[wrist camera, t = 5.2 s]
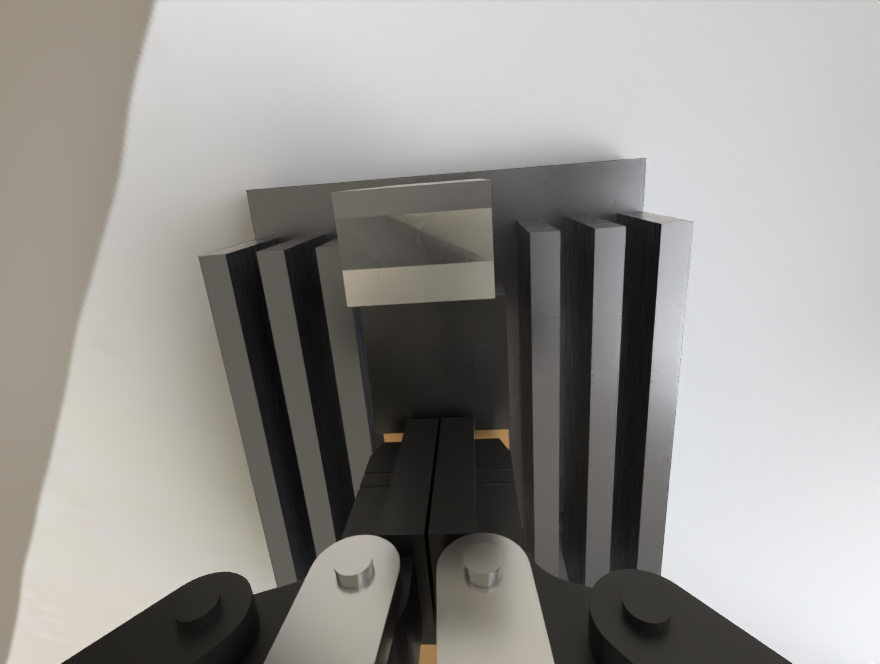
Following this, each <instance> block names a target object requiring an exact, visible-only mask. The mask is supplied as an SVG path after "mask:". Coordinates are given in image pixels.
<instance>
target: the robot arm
mask: <svg viewBox="0 0 880 664" xmlns="http://www.w3.org/2000/svg"><path fill="white" fill-rule="evenodd" d="M436 642H437V664H792V663H791V662H789V661H788V660H786V659H785V658H784V657H782V656H781V655H779V654H778V653H776V652H775V651H773V650H772V649H770V648H769V647H767V646H766V645H764V644H763V643H761V642H760V641H758V640H757V639H756V638H754V637H753V636H751V635H750V634H748V633H747V632H745V631H744V630H742V629H741V628H739V627H738V626H736V625H735V624H733V623H732V622H731V621H729V620H728V619H726V618H725V617H723V616H722V615H720V614H719V613H717V612H716V611H714V610H713V609H711V608H710V607H708V606H707V605H706V604H704V603H703V602H701V601H700V600H698V599H697V598H695V597H694V596H692V595H691V594H689V593H688V592H686V591H685V590H683V589H682V588H681V587H679V586H678V585H676V584H674V583H673V582H671V581H670V580H668V579H666V578H664V577H662V576H659V575H657V574H654V573H651V572H648V571H643V570H637V569H621V570H616V571H613V572H610V573H608V574H606V575H604V576H603V577H601V578H600V579H599V580H598V581H597V582H596V583H595V585H594V586H593V588H591V587H587V586H583V585H580V584H576V583H572V582H569V581H566V580H563V579H560V578H558V577H555V576H553V575H551V574H550V573H548V572H546V571H545V570H543V569H542V568H541V567H540V566H538V565H537V564H536V563H535V562H534V561H533V559H532V558H531V557H530V555H529V554H528V552H527V550H526V548H525V546H524V541H523V536H522V528H521V521H520V514H519V507H518V500H517V493H516V486H515V479H514V472H513V465H512V458H511V451H510V450H509V449H508V448H507V447H506V446H505V445H504V443H503V442H502V441H501V440H500V439H499V438H488V439H476V438H475V423H474V416H473V417H448V418H442V419H441V421H440V418H425V419H407V422H406V425H405V429H404V433H403V437H402V441H401V442H384V443H383V444H382V445H381V446H380V447H379V448H378V449H377V450H376V451H375V452H374V453H373V454H372V455H371V456H370V458H369V461H368V464H367V467H366V470H365V476H363V478H362V481H361V484H360V490H358V493H357V495H356V498H355V501H354V504H353V507H352V510H351V513H350V515H349V518H348V521H347V524H346V527H345V530H344V533H343V535H342V538H341V540H340V541H338V542H336V543H334V544H332V545H331V546H329V547H328V548H327V549H325V550H324V551H323V552H322V553H321V554H320V555H319V556H318V557H317V559H316V560H315V561H314V563H313V564H312V566H311V568H310V570H309V572H308V574H307V576H306V578H304V579H302V580H300V581H297V582H294V583H292V584H288V585H285V586H282V587H278V588H275V589H271V590H268V591H264V592H261V593H257V594H254V595H253V593H252V589H251V586H250V584H249V582H248V581H247V579H245V578H244V577H243V576H241V575H239V574H237V573H232V572H217V573H212V574H208V575H205V576H202V577H199V578H197V579H194V580H192V581H190V582H188V583H186V584H185V585H183V586H181V587H180V588H178V589H177V590H175V591H173V592H172V593H170V594H169V595H167V596H166V597H164V598H163V599H161V600H159V601H158V602H156V603H155V604H153V605H152V606H150V607H149V608H147V609H145V610H144V611H142V612H141V613H139V614H138V615H136V616H135V617H133V618H131V619H130V620H128V621H127V622H125V623H124V624H122V625H121V626H119V627H117V628H116V629H114V630H113V631H111V632H110V633H108V634H107V635H105V636H103V637H102V638H100V639H99V640H97V641H96V642H94V643H92V644H91V645H89V646H88V647H86V648H85V649H83V650H82V651H80V652H78V653H77V654H75V655H74V656H72V657H71V658H69V659H68V660H66V661H64V662H63V663H61V664H419V658H420V649H421V645H436Z"/></svg>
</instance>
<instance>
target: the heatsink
mask: <svg viewBox="0 0 880 664" xmlns="http://www.w3.org/2000/svg"><path fill="white" fill-rule="evenodd" d="M645 169H646V158H639V159H626V160H614V161H601V162H589V163H577V164H564V165H552V166H539V167H527V168H514V169H502V170H490V171H477V172H465V173H452V174H440V175H428V176H415V177H403V178H390V179H378V180H366V181H353V182H341V183H328V184H316V185H304V186H291V187H279V188H266V189H254V190H246V192H247V197H248V202H249V207H250V212H251V217H252V222H253V228H254V233H255V238H256V240H252V241H249V242H245V243H242V244H238V245H235V246H231V247H228V248H225V249H221V250H218V251H214V252H211V253H207V254H204V255H201V256H198V257H199V261H200V265H201V269H202V273H203V278H204V282H205V286H206V290H207V294H208V299H209V303H210V307H211V311H212V315H213V320H214V324H215V328H216V332H217V336H218V340H219V345H220V349H221V353H222V357H223V361H224V366H225V370H226V374H227V378H228V382H229V387H230V391H231V395H232V399H233V403H234V408H235V412H236V416H237V420H238V424H239V429H240V433H241V437H242V441H243V445H244V450H245V454H246V458H247V462H248V466H249V471H250V475H251V479H252V483H253V487H254V492H255V496H256V500H257V504H258V508H259V513H260V517H261V521H262V525H263V529H264V534H265V538H266V542H267V546H268V550H269V555H270V559H271V563H272V567H273V571H274V576H275V580H276V584H277V588H278V587H282V586H285V585H288V584H292V583H294V582H297V581H300V580H302V579H304V578H306V576H307V574H308V572H309V570H310V568H311V566H312V564H313V563H314V561H315V560H316V559H317V557H318V556H319V555H320V554H321V553H322V552H323V551H324V550H325V549H327V548H328V547H329V546H331V545H332V544H334V543H336V542H338V541H340V540H341V538H342V535H343V533H344V530H345V527H346V524H347V521H348V518H349V515H350V513H351V510H352V507H353V504H354V501H355V498H356V495H357V493H358V490H360V484H361V481H362V478H363V476H365V470H366V467H367V464H368V461H369V458H370V456H371V455H372V454H373V453H374V452H375V451H376V450H377V449H378V448H379V447H380V446H381V445H382V444H383V443H384V434H376V428H375V420H374V412H373V404H372V395H371V387H370V379H369V371H368V363H367V354H366V346H365V338H364V330H363V322H362V314H361V306H373V305H390V304H407V303H424V302H441V301H458V300H475V299H493V298H495V282H501V284H502V287H503V289H504V292H505V295H506V317H507V345H508V374H509V402H510V429H509V450H510V451H511V458H512V465H513V472H514V479H515V486H516V493H517V500H518V507H519V514H520V521H521V528H522V536H523V541H524V546H525V548H526V550H527V552H528V554H529V555H530V557H531V558H532V559H533V561H534V562H535V563H536V564H537V565H538V566H540V567H541V568H542V569H543V570H545V571H546V572H548V573H550V574H551V575H553V576H555V577H558V578H560V579H563V580H566V581H569V582H572V583H576V584H580V585H583V586H587V587H591V588H593V586H594V585H595V583H596V582H597V581H598V580H599V579H600V578H601V577H603V576H604V575H606V574H608V573H610V572H613V571H616V570H621V569H637V570H643V571H648V572H651V573H654V574H657V575H659V576H661V565H662V554H663V544H664V533H665V522H666V511H667V500H668V490H669V479H670V468H671V457H672V447H673V436H674V425H675V414H676V403H677V393H678V382H679V371H680V360H681V349H682V339H683V328H684V317H685V306H686V296H687V285H688V274H689V263H690V252H691V242H692V231H693V222H692V221H687V220H681V219H676V218H671V217H666V216H661V215H656V214H651V213H646V212H643V202H644V185H645Z"/></svg>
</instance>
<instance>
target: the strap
mask: <svg viewBox="0 0 880 664" xmlns="http://www.w3.org/2000/svg"><path fill="white" fill-rule="evenodd" d="M361 314H362V322H363V330H364V338H365V346H366V354H367V363H368V371H369V379H370V387H371V395H372V404H373V412H374V420H375V428H376V434H384V442H401V441H402V437H403V433H404V429H405V425H406V422H407V419H425V418H440V421H441V419H442V418H448V417H473V416H474V423H475V438H476V439H488V438H499V439H500V440H501V441H502V442H503V443H504V445H505V446H506V447H507V448H508V449H509V429H510V402H509V374H508V345H507V317H506V295H505V292H504V289H503V287H502V284H501V282H495V298H493V299H475V300H458V301H441V302H424V303H407V304H390V305H373V306H361ZM419 664H437V642H436V645H421V649H420V658H419Z"/></svg>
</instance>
